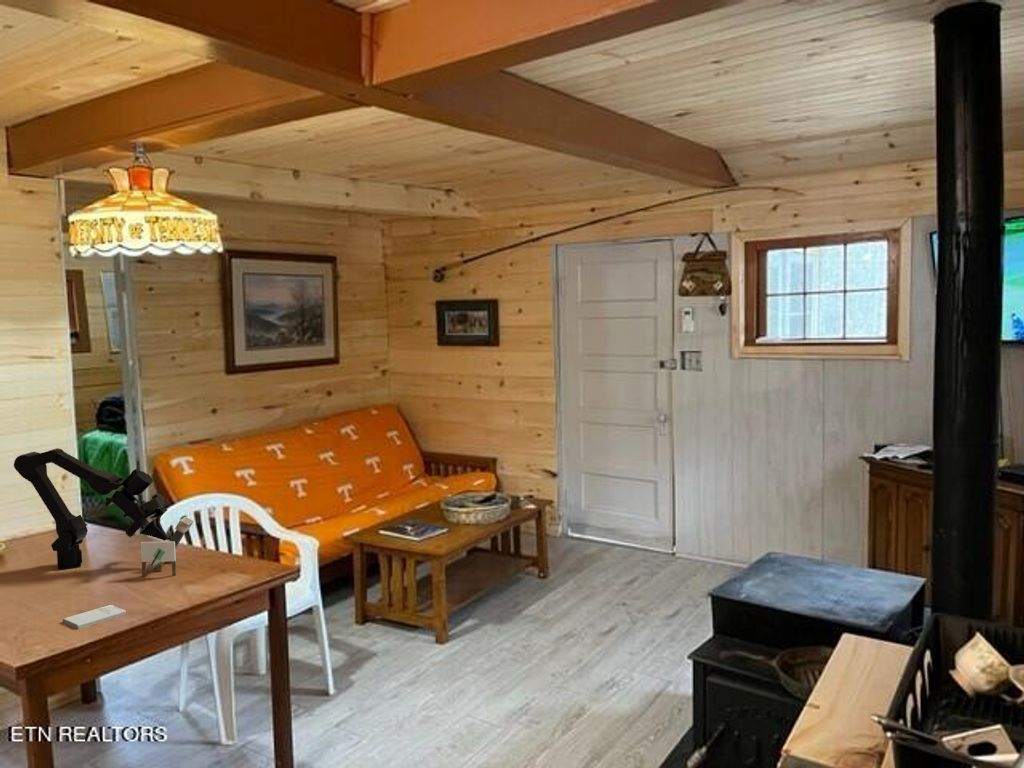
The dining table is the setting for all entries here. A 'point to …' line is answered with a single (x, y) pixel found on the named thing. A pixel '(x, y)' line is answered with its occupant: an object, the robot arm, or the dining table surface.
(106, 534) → the dining table surface
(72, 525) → the robot arm
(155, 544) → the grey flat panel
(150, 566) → the block-topped post frame
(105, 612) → the external hard drive
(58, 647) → the dining table surface
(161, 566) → the peg stand
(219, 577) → the dining table surface
